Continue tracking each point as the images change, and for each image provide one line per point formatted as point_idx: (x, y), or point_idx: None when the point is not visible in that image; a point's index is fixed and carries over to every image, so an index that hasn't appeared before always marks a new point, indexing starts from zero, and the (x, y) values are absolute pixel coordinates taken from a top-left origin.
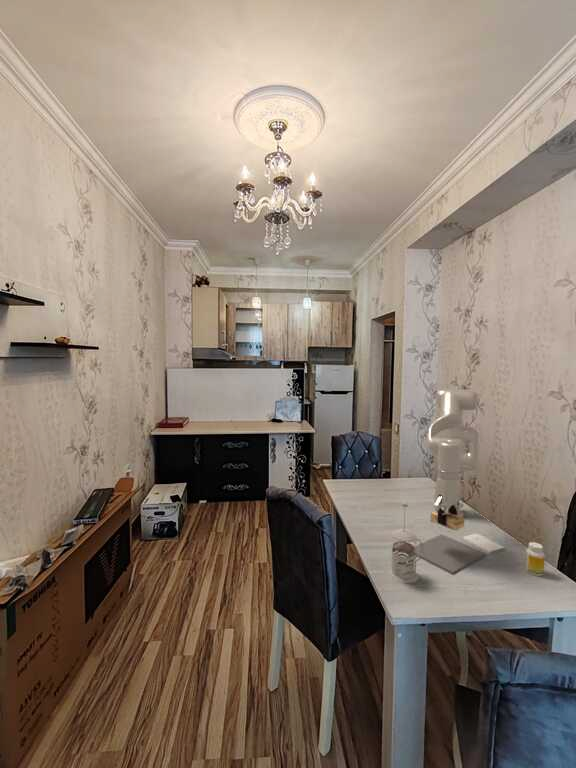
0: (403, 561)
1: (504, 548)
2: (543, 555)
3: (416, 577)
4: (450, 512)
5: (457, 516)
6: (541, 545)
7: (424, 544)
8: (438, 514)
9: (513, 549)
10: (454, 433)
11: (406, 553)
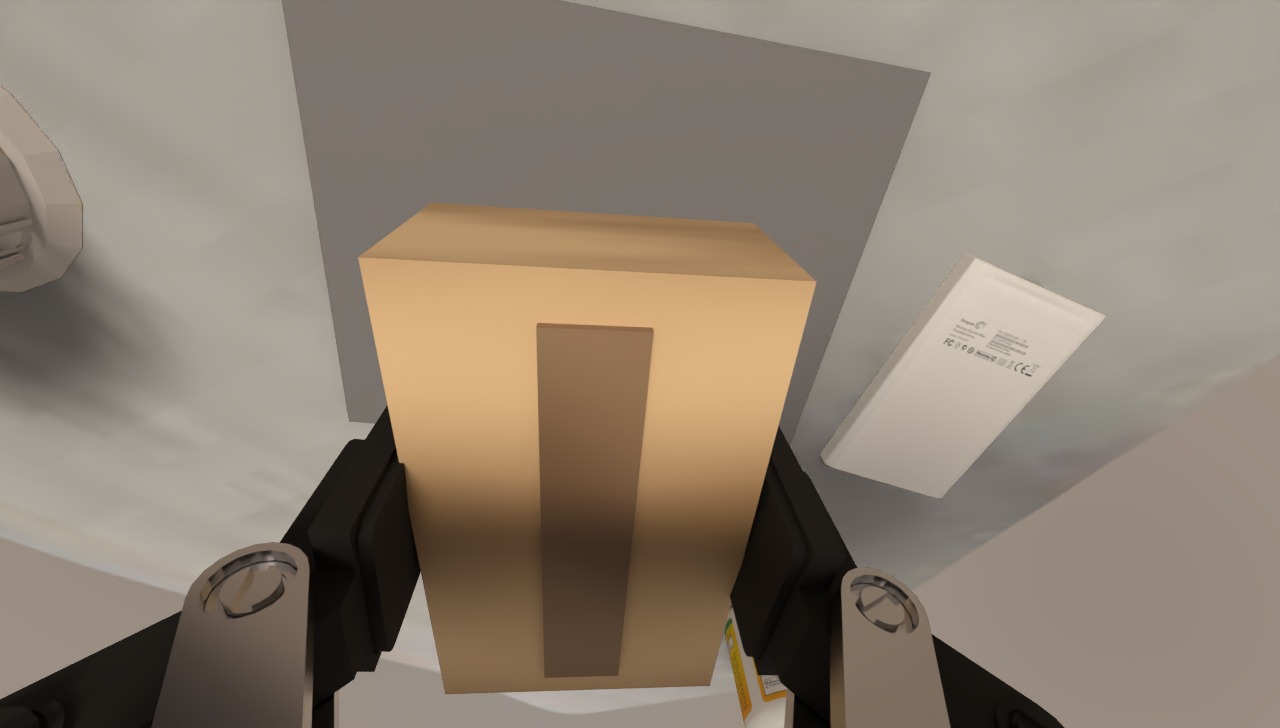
0: None
1: (934, 494)
2: None
3: (8, 283)
4: (759, 532)
5: (681, 629)
6: None
7: (554, 43)
8: (333, 507)
9: (965, 511)
10: None
11: None
